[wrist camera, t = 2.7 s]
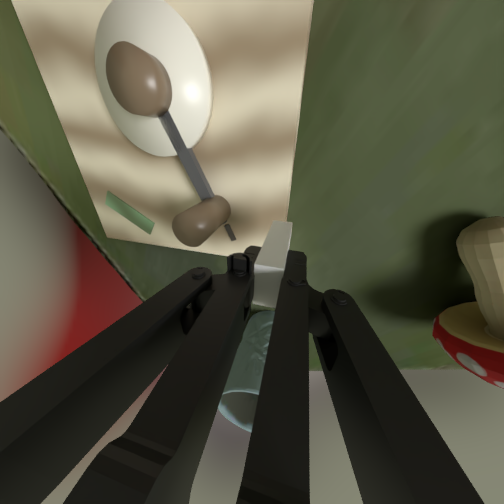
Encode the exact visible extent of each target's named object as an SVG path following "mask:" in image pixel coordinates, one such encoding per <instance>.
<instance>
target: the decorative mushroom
mask: <svg viewBox="0 0 504 504" xmlns="http://www.w3.org/2000/svg"><path fill="white" fill-rule="evenodd" d="M456 245H457V249H458V253H459V256H460V258H461V260H462V262H463V264H464V265H465V267H466V269H467V271H468V273H469V274H470V276H471V279H472V281H473V284H474V289H475V297H476V300H477V302H468V303H462V304H459V305H456V306H453V307H449V308H447V309H446V310H444V311H443V312H442V313H440V314H439V315H438V316H437V317H435V318H434V321H433V337H434V338H435V340H436V341H437V342H438V344H439V345H440V346H441V347H442V348H443V349H444V350H445V352H446V353H447V354H448V355H449V356H450V357H451V358H452V359H453V360H454V361H456V362H457V363H458V364H459V365H461V366H462V367H463V368H465V369H466V370H468V371H470V372H472V373H473V374H475V375H476V376H478V377H480V378H481V379H483V380H485V381H487V382H489V383H491V384H493V385H495V386H498V387H500V388H503V389H504V217H500V216H495V217H488V218H484V219H480V220H478V221H476V222H474V223H473V224H471V225H470V226H468V227H466V228H465V229H463V230H462V231H461V233H460V235H459V236H458V238H457V240H456Z"/></svg>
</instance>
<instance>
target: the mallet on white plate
mask: <svg viewBox="0 0 504 504" xmlns="http://www.w3.org/2000/svg"><path fill="white" fill-rule="evenodd" d="M95 68H96V75H97V80H98V84H99V88H100V91H101V94H102V97H103V100H104V102H105V105H106V107H107V109H108V111H109V113H110V115H111V117H112V118H113V120H114V122H115V123H116V125H117V126H118V128H119V129H120V130H121V131H122V133H123V134H124V135H125V136H126V137H127V138H128V139H129V140H130V141H131V142H132V143H133V144H134V145H136V146H137V147H139V148H140V149H142V150H143V151H145V152H147V153H150V154H152V155H156V156H163V157H167V156H177V155H178V157H179V159H180V160H181V162H182V164H183V166H184V168H185V170H186V172H187V174H188V176H189V178H190V180H191V182H192V184H193V186H194V187H195V189H196V191H197V193H198V195H199V197H200V199H201V202H199V203H197V204H196V205H194V206H192V207H190V208H188V209H187V210H185V211H183V212H181V213H179V214H178V215H176V216H175V217H174V219H173V221H172V230H173V233H174V235H175V236H176V238H177V239H178V240H179V241H180V242H181V243H183V244H184V245H186V246H189V247H198V246H200V245H201V244H203V243H204V242H205V241H206V240H207V239H208V238H209V237H210V236H211V235H212V234H213V233H214V232H215V231H216V230H217V229H218V228H219V227H220V226H221V225H223V224H225V223H226V222H227V219H228V218H229V217H230V214H231V208H230V205H229V203H228V201H227V200H226V199H225V198H223V197H222V196H219V195H214V193H213V191H212V189H211V187H210V185H209V183H208V181H207V179H206V177H205V175H204V173H203V170H202V168H201V166H200V164H199V162H198V160H197V158H196V156H195V154H194V152H193V150H192V149H193V148H195V147H196V146H197V145H198V144H199V142H200V141H201V140H202V138H203V137H204V135H205V133H206V131H207V129H208V126H209V124H210V120H211V116H212V110H213V97H214V95H213V82H212V75H211V71H210V66H209V63H208V60H207V57H206V54H205V51H204V49H203V47H202V45H201V43H200V41H199V39H198V37H197V36H196V34H195V32H194V31H193V30H192V28H191V27H190V26H189V24H188V23H187V22H186V21H185V20H184V19H183V18H182V17H181V16H180V15H179V14H178V13H177V12H176V11H175V10H174V9H173V8H172V7H171V6H170V5H169V4H168V3H166V2H165V1H164V0H113V1H112V2H111V3H110V4H109V5H108V7H107V8H106V10H105V11H104V13H103V15H102V17H101V19H100V22H99V25H98V29H97V33H96V39H95Z"/></svg>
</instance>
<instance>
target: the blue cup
mask: <svg viewBox="0 0 504 504" xmlns="http://www.w3.org/2000/svg"><path fill="white" fill-rule="evenodd" d="M274 314H275V311H261V312H258V313H256V314H254V315H252V317H251V318H250V320H249V321H248V324H247V326H246V328H245V331H244V333H243V339H242V341H241V343H240V344H239V347H238V350H237V352H236V355H235V358H234V361H233V364H232V367H231V370H230V373H229V376H228V379H227V382H226V385H225V388H224V391H223V394H222V397H221V400H220V403H219V406H218V409H219V411H220V412H221V413H222V414H223V415H224V417H226V418H227V419H228V420H229V421H231V422H232V423H234V424H235V425H237V426H239V427H241V428H243V429H245V430H247V431H249V432H252V426H253V421H254V416H255V411H256V406H257V401H258V396H259V391H260V386H261V380H262V375H263V370H264V365H265V360H266V355H267V350H268V345H269V340H270V334H271V329H272V324H273V319H274Z"/></svg>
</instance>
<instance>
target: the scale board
mask: <svg viewBox="0 0 504 504" xmlns="http://www.w3.org/2000/svg"><path fill="white" fill-rule="evenodd" d="M11 1H12V3H13V6H14V8H15V11H16V13H17V16H18V18H19V20H20V23H21V25H22V28H23V30H24V33H25V35H26V38H27V40H28V43H29V45H30V48H31V50H32V53H33V55H34V58H35V60H36V62H37V65H38V67H39V70H40V72H41V75H42V77H43V80H44V82H45V85H46V87H47V90H48V92H49V95H50V97H51V100H52V102H53V104H54V107H55V109H56V112H57V114H58V117H59V119H60V122H61V124H62V127H63V129H64V132H65V134H66V137H67V139H68V142H69V144H70V147H71V149H72V151H73V154H74V156H75V159H76V161H77V164H78V166H79V169H80V171H81V174H82V176H83V179H84V181H85V184H86V186H87V189H88V191H89V193H90V196H91V198H92V201H93V203H94V206H95V208H96V211H97V213H98V216H99V218H100V221H101V223H102V226H103V228H104V231H105V233H106V235H107V237H108V238H114V239H121V240H127V241H134V242H140V243H146V244H153V245H159V246H166V247H172V248H178V249H185V250H191V251H198V252H204V253H210V254H217V255H223V256H229V255H231V254H233V253H244V251H245V249H246V248H247V247H249V246H251V245H252V246H259V247H262V245H263V243H264V241H265V239H266V236H267V234H268V232H269V230H270V227H271V225H272V223H273V221H283V222H287V213H288V205H289V197H290V189H291V181H292V173H293V165H294V156H295V148H296V140H297V132H298V124H299V116H300V108H301V99H302V91H303V83H304V75H305V67H306V59H307V50H308V42H309V34H310V26H311V18H312V10H313V2H314V0H164V1H165V2H166V3H168V4H169V5H170V6H171V7H172V8H173V9H174V10H175V11H176V12H177V13H178V14H179V15H180V16H181V17H182V18H183V19H184V20H185V21H186V22H187V23H188V24H189V26H190V27H191V28H192V30H193V31H194V32H195V34H196V36H197V37H198V39H199V41H200V43H201V45H202V47H203V49H204V51H205V54H206V57H207V60H208V63H209V66H210V71H211V75H212V82H213V95H214V97H213V110H212V116H211V120H210V124H209V126H208V129H207V131H206V133H205V135H204V137H203V138H202V140H201V141H200V142H199V144H198V145H197V146H196V147H195V148H193V149H192V150H193V152H194V154H195V156H196V158H197V160H198V162H199V164H200V166H201V168H202V170H203V173H204V175H205V177H206V179H207V181H208V183H209V185H210V187H211V189H212V191H213V193H214V195H219V196H222V197H223V198H225V199H226V200H227V201H228V203H229V205H230V208H231V214H230V217H229V218H228V219H227V222H226V223H225V224H223V225H221V226H220V227H219V228H218V229H217V230H216V231H215V232H214V233H213V234H212V235H211V236H210V237H209V238H208V239H207V240H206V241H205V242H204V243H203V244H201V245H200V246H198V247H189V246H186V245H184V244H183V243H181V242H180V241H179V240H178V239H177V238H176V236H175V235H174V233H173V230H172V221H173V219H174V217H175V216H176V215H178V214H179V213H181V212H183V211H185V210H187V209H188V208H190V207H192V206H194V205H196V204H197V203H199V202H201V199H200V197H199V195H198V193H197V191H196V189H195V187H194V186H193V184H192V182H191V180H190V178H189V176H188V174H187V172H186V170H185V168H184V166H183V164H182V162H181V160H180V159H179V157H178V155H177V156H167V157H163V156H156V155H152V154H150V153H147V152H145V151H143V150H142V149H140V148H139V147H137V146H136V145H134V144H133V143H132V142H131V141H130V140H129V139H128V138H127V137H126V136H125V135H124V134H123V133H122V131H121V130H120V129H119V128H118V126H117V125H116V123H115V122H114V120H113V118H112V117H111V115H110V113H109V111H108V109H107V107H106V105H105V102H104V100H103V97H102V94H101V91H100V88H99V84H98V80H97V75H96V68H95V39H96V33H97V29H98V25H99V22H100V19H101V17H102V15H103V13H104V11H105V10H106V8H107V7H108V5H109V4H110V3H111V2H112V1H113V0H11Z"/></svg>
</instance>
